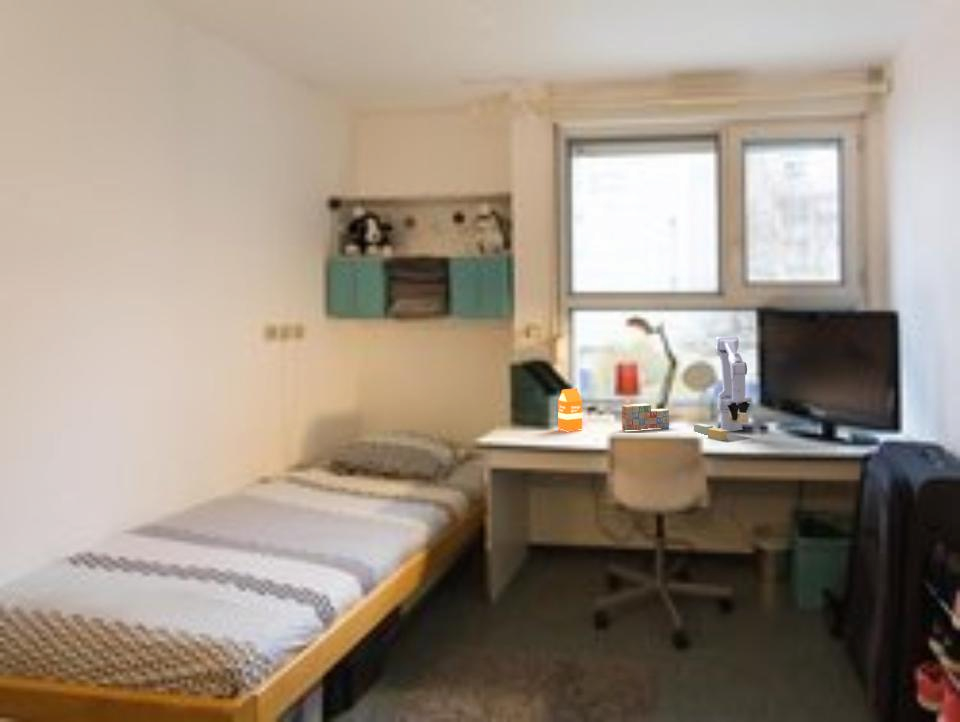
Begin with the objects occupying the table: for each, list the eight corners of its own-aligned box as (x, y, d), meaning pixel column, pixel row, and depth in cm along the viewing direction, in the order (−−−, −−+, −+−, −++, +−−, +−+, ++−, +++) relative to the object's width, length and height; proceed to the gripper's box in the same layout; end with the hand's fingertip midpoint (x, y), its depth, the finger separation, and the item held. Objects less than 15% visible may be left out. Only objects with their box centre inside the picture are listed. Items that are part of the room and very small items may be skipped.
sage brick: (693, 432, 409) (693, 424, 409) (700, 431, 411) (700, 423, 411) (706, 435, 403) (706, 426, 402) (712, 434, 405) (712, 425, 404)
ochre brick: (707, 437, 398) (707, 428, 397) (714, 436, 400) (714, 427, 399) (720, 440, 391) (720, 431, 390) (727, 439, 393) (727, 430, 392)
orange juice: (558, 429, 428) (557, 388, 426) (573, 427, 432) (572, 387, 430) (567, 432, 421) (566, 390, 419) (582, 430, 425) (582, 389, 423)
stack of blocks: (663, 427, 429) (663, 402, 427) (669, 429, 422) (669, 404, 421) (621, 429, 424) (621, 404, 423) (626, 432, 418) (626, 406, 417)
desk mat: (710, 430, 417) (710, 429, 417) (753, 439, 394) (753, 438, 394) (684, 434, 409) (684, 433, 409) (727, 443, 386) (727, 442, 386)
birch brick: (728, 420, 399) (728, 412, 399) (735, 420, 401) (735, 411, 401) (741, 423, 392) (741, 414, 392) (748, 422, 394) (748, 413, 394)
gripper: (733, 391, 388) (733, 422, 390) (757, 388, 395) (756, 418, 397) (721, 390, 394) (721, 420, 396) (745, 387, 401) (744, 416, 403)
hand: (738, 419), depth 397 cm, fingers closed on birch brick, 4 cm apart
